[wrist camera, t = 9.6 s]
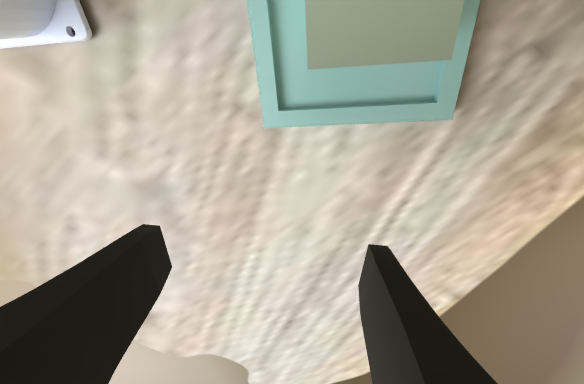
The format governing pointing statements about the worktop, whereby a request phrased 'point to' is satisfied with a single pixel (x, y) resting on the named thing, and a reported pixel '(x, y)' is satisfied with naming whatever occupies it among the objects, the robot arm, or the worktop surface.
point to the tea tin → (380, 31)
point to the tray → (347, 76)
